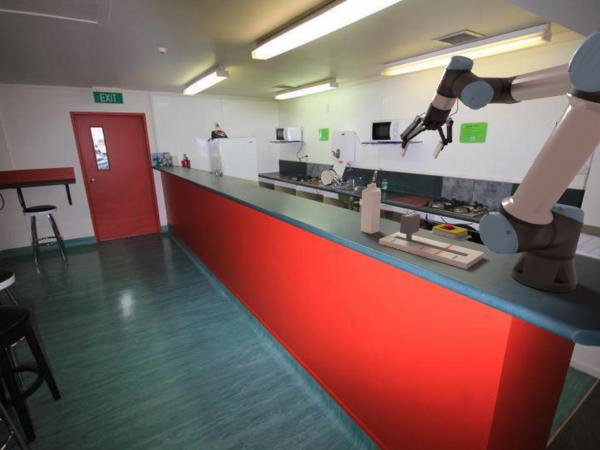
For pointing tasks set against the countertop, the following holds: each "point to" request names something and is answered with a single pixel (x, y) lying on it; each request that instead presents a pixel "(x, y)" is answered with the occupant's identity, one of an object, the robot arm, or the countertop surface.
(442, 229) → the emergency button
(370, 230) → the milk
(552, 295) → the countertop surface
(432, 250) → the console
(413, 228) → the fader
